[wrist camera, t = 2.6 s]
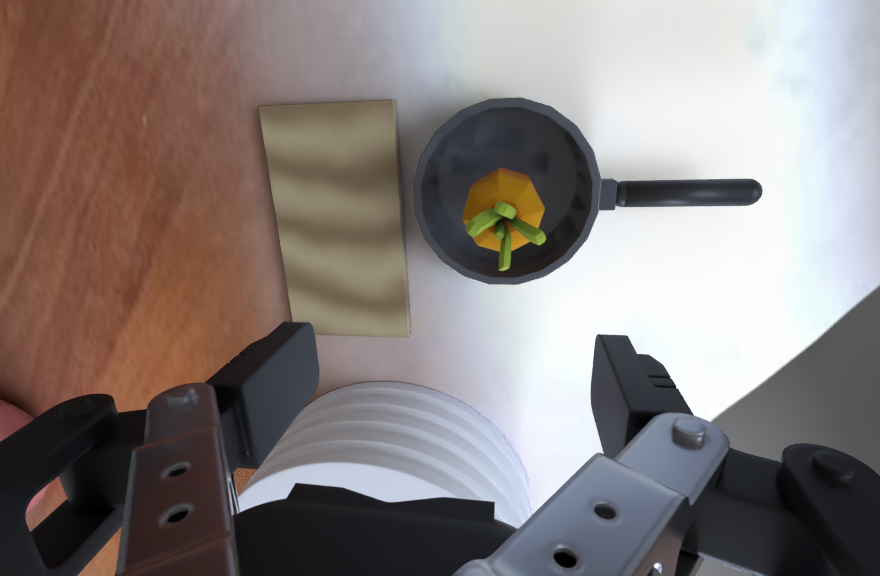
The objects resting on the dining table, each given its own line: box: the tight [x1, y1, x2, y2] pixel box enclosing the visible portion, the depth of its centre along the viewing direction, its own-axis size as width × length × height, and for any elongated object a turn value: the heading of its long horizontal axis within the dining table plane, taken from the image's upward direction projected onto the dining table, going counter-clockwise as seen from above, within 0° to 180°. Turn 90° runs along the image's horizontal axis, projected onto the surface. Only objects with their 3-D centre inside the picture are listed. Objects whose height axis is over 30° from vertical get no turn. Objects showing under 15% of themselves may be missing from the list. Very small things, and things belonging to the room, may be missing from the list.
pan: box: [413, 98, 601, 285], centre depth 35 cm, size 13×13×4 cm
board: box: [258, 100, 411, 337], centre depth 40 cm, size 20×11×1 cm, turn 2°
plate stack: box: [238, 382, 532, 529], centre depth 44 cm, size 28×28×12 cm
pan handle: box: [599, 179, 762, 210], centre depth 32 cm, size 11×2×2 cm, turn 92°
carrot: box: [462, 167, 546, 271], centre depth 30 cm, size 5×5×15 cm
